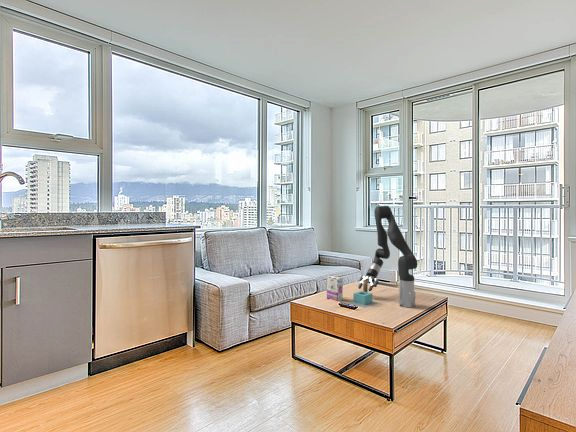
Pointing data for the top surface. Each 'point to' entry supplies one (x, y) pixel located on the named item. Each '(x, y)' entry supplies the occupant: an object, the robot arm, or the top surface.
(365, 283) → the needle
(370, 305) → the board
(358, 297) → the teal block with hole
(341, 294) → the candy bar box
